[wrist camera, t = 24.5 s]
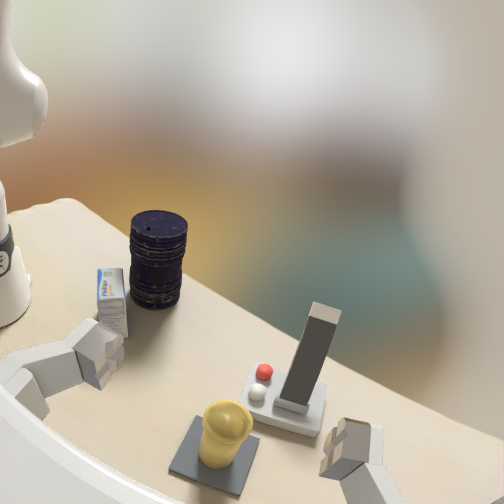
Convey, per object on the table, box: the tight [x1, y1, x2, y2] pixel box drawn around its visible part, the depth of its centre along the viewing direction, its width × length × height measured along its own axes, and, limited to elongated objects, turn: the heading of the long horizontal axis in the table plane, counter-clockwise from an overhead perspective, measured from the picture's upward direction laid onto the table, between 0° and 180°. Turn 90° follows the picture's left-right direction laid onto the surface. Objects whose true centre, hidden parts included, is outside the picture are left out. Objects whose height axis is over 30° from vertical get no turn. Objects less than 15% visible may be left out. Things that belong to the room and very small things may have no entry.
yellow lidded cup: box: [198, 400, 253, 469], centre depth 31 cm, size 5×5×10 cm
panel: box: [238, 361, 327, 438], centre depth 42 cm, size 12×9×3 cm
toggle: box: [273, 302, 341, 415], centre depth 41 cm, size 5×2×15 cm
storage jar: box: [129, 210, 188, 310], centre depth 54 cm, size 10×10×15 cm
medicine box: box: [97, 268, 128, 338], centre depth 47 cm, size 8×4×9 cm, turn 23°
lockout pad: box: [169, 415, 260, 496], centre depth 33 cm, size 9×9×1 cm
